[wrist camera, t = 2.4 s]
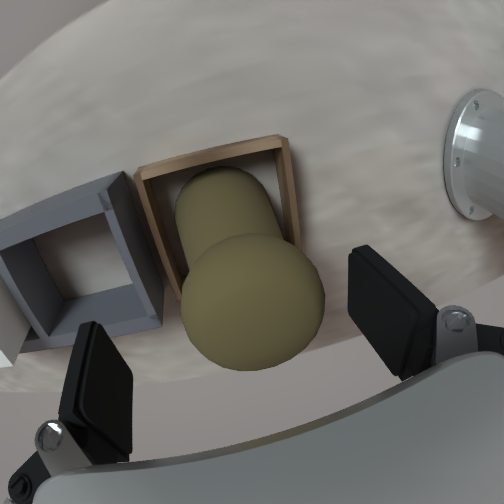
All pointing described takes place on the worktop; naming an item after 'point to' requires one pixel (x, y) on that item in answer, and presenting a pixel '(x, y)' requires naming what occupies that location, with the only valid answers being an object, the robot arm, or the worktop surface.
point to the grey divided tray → (91, 306)
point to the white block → (10, 327)
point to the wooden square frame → (209, 155)
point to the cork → (243, 275)
